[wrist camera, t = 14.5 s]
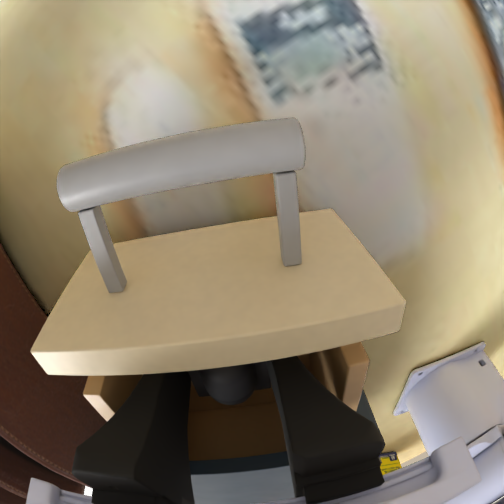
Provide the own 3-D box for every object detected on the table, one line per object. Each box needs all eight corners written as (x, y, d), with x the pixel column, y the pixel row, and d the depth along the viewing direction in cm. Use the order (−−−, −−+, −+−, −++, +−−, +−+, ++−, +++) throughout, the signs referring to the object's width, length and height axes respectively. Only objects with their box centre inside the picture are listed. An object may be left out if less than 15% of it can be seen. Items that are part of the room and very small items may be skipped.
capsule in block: (252, 265, 13) (262, 320, 10) (265, 355, 16) (275, 408, 13) (168, 278, 13) (156, 334, 10) (199, 364, 16) (198, 417, 13)
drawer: (62, 156, 11) (-41, 222, 5) (326, 106, 11) (427, 129, 5) (170, 405, 20) (166, 487, 14) (325, 384, 20) (350, 465, 14)
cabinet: (136, 348, 18) (113, 471, 10) (334, 320, 18) (384, 441, 11) (195, 442, 25) (196, 520, 18) (323, 425, 25) (343, 501, 18)
